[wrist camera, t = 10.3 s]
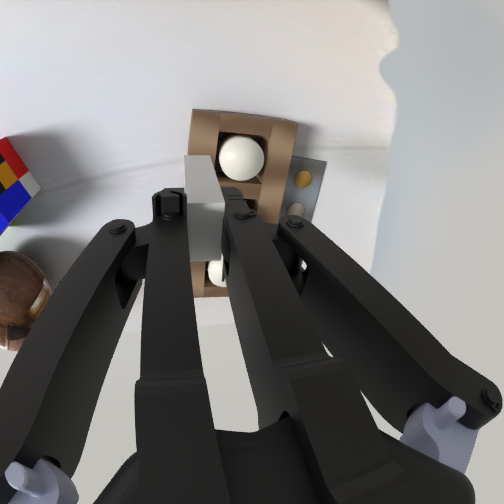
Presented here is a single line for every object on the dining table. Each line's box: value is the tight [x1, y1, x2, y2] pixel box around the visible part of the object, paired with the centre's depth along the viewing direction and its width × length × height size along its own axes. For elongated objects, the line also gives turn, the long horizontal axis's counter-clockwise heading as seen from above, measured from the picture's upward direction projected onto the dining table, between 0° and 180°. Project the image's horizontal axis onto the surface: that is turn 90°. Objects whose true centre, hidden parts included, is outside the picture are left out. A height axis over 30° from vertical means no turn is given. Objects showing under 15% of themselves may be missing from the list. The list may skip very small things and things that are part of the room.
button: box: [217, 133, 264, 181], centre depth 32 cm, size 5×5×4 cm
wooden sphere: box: [0, 251, 52, 351], centre depth 29 cm, size 15×15×15 cm
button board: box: [188, 109, 326, 298], centre depth 38 cm, size 26×19×4 cm
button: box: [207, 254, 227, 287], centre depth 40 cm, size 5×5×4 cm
